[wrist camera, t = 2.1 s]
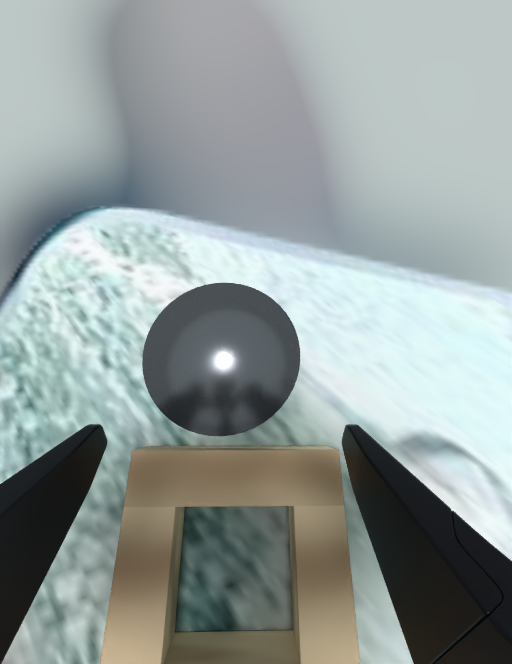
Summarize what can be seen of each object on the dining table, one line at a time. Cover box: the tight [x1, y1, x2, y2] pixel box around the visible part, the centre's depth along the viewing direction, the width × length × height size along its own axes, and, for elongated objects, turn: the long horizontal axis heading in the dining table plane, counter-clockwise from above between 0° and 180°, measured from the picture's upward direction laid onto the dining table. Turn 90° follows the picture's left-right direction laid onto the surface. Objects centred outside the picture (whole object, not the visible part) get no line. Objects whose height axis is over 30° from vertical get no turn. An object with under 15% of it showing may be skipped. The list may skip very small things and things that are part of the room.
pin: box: [142, 283, 300, 436], centre depth 14 cm, size 5×5×12 cm
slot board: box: [100, 446, 360, 664], centre depth 14 cm, size 15×13×2 cm
